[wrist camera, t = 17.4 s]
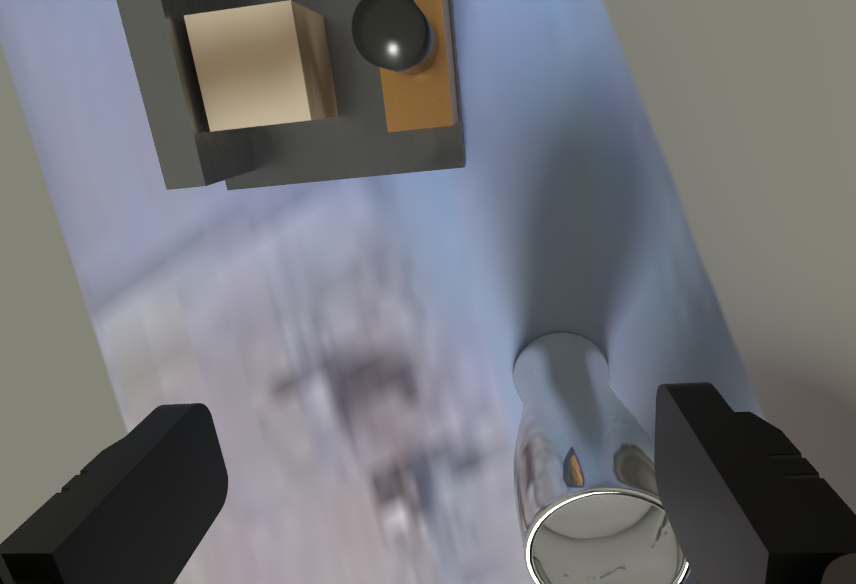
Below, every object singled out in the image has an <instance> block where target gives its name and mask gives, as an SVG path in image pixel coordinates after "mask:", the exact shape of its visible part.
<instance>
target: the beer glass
mask: <svg viewBox="0 0 856 584" xmlns="http://www.w3.org/2000/svg"><path fill="white" fill-rule="evenodd" d="M513 380H514V385H515V388H516V391H517V393H518V395H519V397H520V399H521V401H522V404H523V410H522V416H521V420H520V425H519V430H518V435H517V440H516V446H515V455H514V492H515V501H516V510H517V515H518V521H519V527H520V532H521V537H522V542H523V548H524V559H525V564H526V568H527V570H528V573H529V575H530V577H531V579H532V580H533V582H534V583H535V584H684V582H685V581H686V579H687V577H688V575H689V573H690V569H689V566H688V564H687V562H686V559H685V557H684V555H683V552H682V550H681V548H680V545H679V543H678V541H677V538H676V536H675V534H674V531H673V529H672V527H671V524H670V522H669V520H668V517H667V515H666V513H665V511H664V508H663V506H662V503H661V501H660V498H659V494H658V490H657V485H656V479H655V471H654V454H655V445H654V444H653V442H652V440H651V438H650V437H649V435H648V434H647V432H646V431H645V430H644V428H643V427H642V426H641V424H640V423H639V421H638V420H637V419H636V418H635V416H634V415H633V414H632V413H631V412H630V410H629V409H628V408H627V407H626V406H625V405H624V403H623V402H622V401H621V400H620V399H619V398H618V397H617V396H616V394H615V393H614V392H613V391H612V389H611V387H610V376H609V368H608V364H607V361H606V359H605V356H604V355H603V353H602V352H601V350H600V349H599V348H598V347H597V346H596V345H595V344H594V343H593V342H591V341H590V340H588V339H586V338H584V337H582V336H580V335H577V334H573V333H566V332H558V333H551V334H547V335H544V336H541V337H539V338H537V339H535V340H533V341H532V342H531V343H529V344H528V345H527V346H526V347H525V348H524V349H523V350H522V351H521V353H520V354H519V356H518V358H517V360H516V363H515V366H514V370H513Z"/></svg>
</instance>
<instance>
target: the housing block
mask: <svg viewBox="0 0 856 584" xmlns="http://www.w3.org/2000/svg"><path fill="white" fill-rule="evenodd" d="M184 20H185V24H186V28H187V33H188V37H189V41H190V46H191V50H192V54H193V59H194V63H195V67H196V72H197V76H198V80H199V85H200V89H201V93H202V98H203V102H204V106H205V111H206V115H207V119H208V124H209V128H210V132H211V131H220V130H229V129H238V128H247V127H256V126H265V125H274V124H282V123H291V122H300V121H309V120H317V119H324V118H331V117H338V116H339V115H338V109H337V102H336V96H335V89H334V83H333V76H332V70H331V63H330V57H329V50H328V44H327V37H326V31H325V24H324V18H323V16H322V15H320V14H318V13H316V12H314V11H312V10H310V9H308V8H306V7H304V6H302V5H300V4H298V3H296V2H293V1H291V0H288V1H281V2H274V3H267V4H260V5H253V6H246V7H239V8H233V9H226V10H219V11H212V12H205V13H198V14H191V15H184Z"/></svg>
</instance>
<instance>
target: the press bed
mask: <svg viewBox="0 0 856 584" xmlns="http://www.w3.org/2000/svg"><path fill="white" fill-rule="evenodd" d="M281 1H288V0H117V4H118V8H119V12H120V15H121V19H122V23H123V27H124V30H125V34H126V38H127V42H128V46H129V49H130V53H131V57H132V61H133V64H134V68H135V72H136V76H137V79H138V83H139V87H140V91H141V95H142V98H143V102H144V106H145V110H146V113H147V117H148V121H149V125H150V128H151V132H152V136H153V140H154V144H155V147H156V151H157V155H158V159H159V162H160V166H161V170H162V174H163V177H164V181H165V185H166V189H167V190H169V189H179V188H189V187H199V186H207V185H210V184H213V183H216V182H219V181H223V180H225V181H226V185H227V190H235V189H245V188H255V187H266V186H276V185H286V184H297V183H307V182H317V181H328V180H338V179H348V178H358V177H369V176H379V175H389V174H400V173H410V172H420V171H431V170H441V169H451V168H462V167H465V165H466V162H465V150H464V137H463V125H462V113H461V101H460V89H459V77H458V65H457V53H456V40H455V28H454V16H453V4H452V0H448V2H449V14H450V26H451V38H452V50H453V62H454V73H455V85H456V97H457V109H458V122H456V123H455V124H454V125H452V126H443V127H433V128H424V129H415V130H405V131H396V132H388V130H387V122H386V114H385V106H384V98H383V90H382V82H381V74H380V67H377V66H375V65H373V64H371V63H369V62H368V61H367V60H365V59H364V58H363V57H362V55H361V54H360V53H359V51H358V50H357V48H356V46H355V44H354V40H353V36H352V18H353V14H354V12H355V9H356V7H357V5H358V4H359V2H360V1H361V0H291V1H293V2H296V3H298V4H300V5H302V6H304V7H306V8H308V9H310V10H312V11H314V12H316V13H318V14H320V15H322V16H323V18H324V24H325V31H326V37H327V44H328V50H329V57H330V63H331V70H332V76H333V83H334V89H335V96H336V102H337V109H338V115H339V116H338V117H331V118H324V119H317V120H309V121H300V122H291V123H282V124H274V125H265V126H256V127H247V128H238V129H229V130H220V131H211V132H210V128H209V124H208V119H207V115H206V111H205V106H204V102H203V98H202V93H201V89H200V85H199V80H198V76H197V72H196V67H195V63H194V59H193V54H192V50H191V46H190V41H189V37H188V33H187V28H186V24H185V20H184V15H191V14H198V13H205V12H212V11H219V10H226V9H233V8H239V7H246V6H253V5H260V4H267V3H274V2H281Z"/></svg>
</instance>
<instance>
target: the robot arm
mask: <svg viewBox="0 0 856 584" xmlns="http://www.w3.org/2000/svg"><path fill="white" fill-rule="evenodd" d="M654 471H655V479H656V485H657V490H658V494H659V498H660V501H661V503H662V506H663V508H664V511H665V513H666V515H667V517H668V520H669V522H670V524H671V527H672V529H673V531H674V534H675V536H676V538H677V541H678V543H679V545H680V548H681V550H682V552H683V555H684V557H685V559H686V562H687V564H688V566H689V569H690V573H689V575H688V577H687V579H686V581H685V582H684V584H856V515H855V514H854V512H853V511H852V510H851V509H850V508H849V507H848V506H847V504H845V502H844V501H843V500H842V499H841V498H840V497H839V496H838V494H837V493H836V492H835V491H834V490H833V489H832V488H831V486H830V485H829V484H828V483H827V482H826V481H825V480H824V479H820V477H819V473H818V472H817V471H816V469H815V468H814V467H813V466H812V465H811V464H810V463H809V462H808V461H807V459H806V458H802V456H801V453H800V451H799V450H798V449H797V448H796V447H795V446H794V445H793V444H792V443H791V441H790V440H789V439H788V438H787V437H786V436H785V434H784V433H783V432H782V431H781V430H780V429H778V428H776V427H774V426H773V425H771V424H769V423H768V422H766V421H764V420H763V419H761V418H759V417H758V416H756V415H754V414H753V413H751V412H733V410H732V409H731V408H730V406H729V405H728V404H727V403H726V401H725V400H724V399H723V398H722V396H721V395H720V394H719V392H718V391H717V390H716V389H715V387H714V386H713V385H712V384H711V383H708V382H703V383H680V384H661V385H660V386H659V387H658V390H657V397H656V424H655V454H654ZM80 472H81V473H80V475H75V476H74V477H73V478H72V479H71V480H70V481H69V482H68V483H67V484H66V485H64V486H63V487H62V491H61V493H56V494H55V495H54V496H52V498H50V499H49V500H48V501H47V502H46V503H45V504H44V505H43V506H42V507H41V508H40V509H38V510H37V511H36V512H35V513H34V514H33V515H32V516H31V517H30V518H28V519H27V521H25V522H24V523H23V524H22V525H21V526H20V527H19V528H18V529H16V530H15V531H14V532H13V533H12V534H11V535H10V536H9V537H8V538H7V539H6V540H5V541H4V542H2V543H1V544H0V584H173V583H174V582H175V580H176V579H177V577H178V576H179V574H180V573H181V571H182V570H183V568H184V566H185V565H186V563H187V562H188V560H189V559H190V557H191V556H192V554H193V552H194V551H195V549H196V548H197V546H198V545H199V543H200V542H201V540H202V539H203V537H204V535H205V534H206V532H207V531H208V529H209V528H210V526H211V525H212V523H213V521H214V520H215V518H216V517H217V515H218V514H219V512H220V511H221V509H222V507H223V505H224V503H225V499H226V496H227V490H228V475H227V470H226V467H225V463H224V459H223V456H222V452H221V448H220V445H219V441H218V437H217V434H216V430H215V426H214V423H213V419H212V416H211V413H210V411H209V409H208V408H207V407H206V406H205V405H204V404H201V403H194V404H172V405H161V406H159V407H157V408H156V409H154V410H153V411H152V412H151V413H150V414H149V415H148V416H147V417H146V418H145V419H144V420H143V421H142V422H141V423H140V424H138V425H137V426H136V427H135V428H134V429H133V430H132V431H131V432H130V433H129V434H128V435H127V436H126V437H124V438H123V439H121V440H119V441H118V442H116V443H114V444H113V445H111V446H109V447H108V448H106V449H104V450H103V451H102V452H100V453H99V454H98V455H97V456H96V457H95V458H94V459H93V460H92V461H91V462H90V463H88V464H87V465H86V466H85V467H84V468H83V469H82V470H81V471H80Z"/></svg>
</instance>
